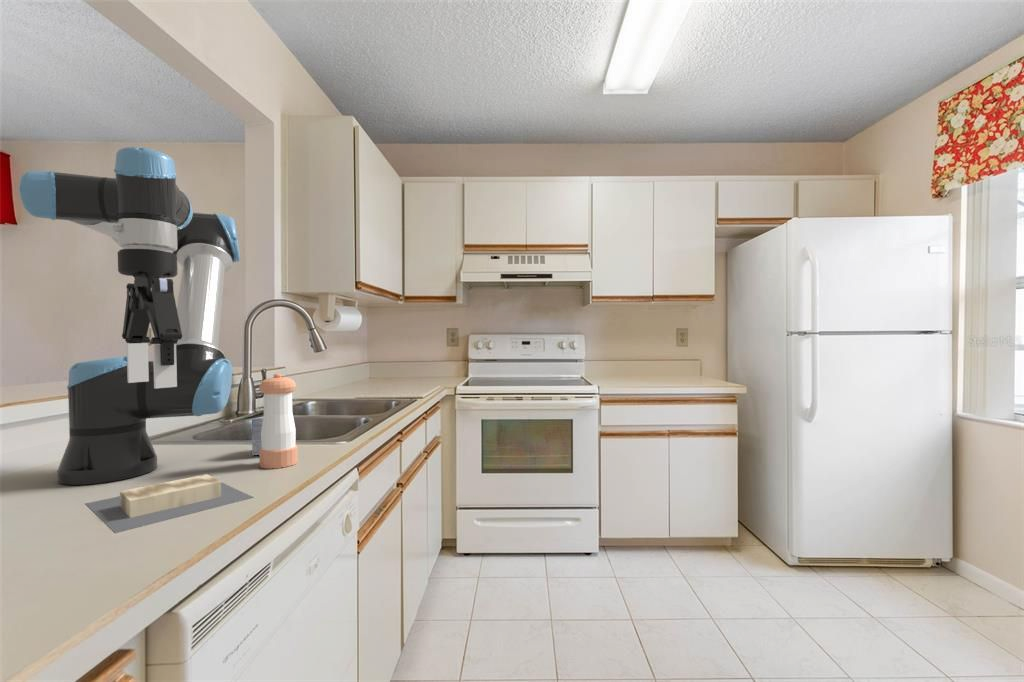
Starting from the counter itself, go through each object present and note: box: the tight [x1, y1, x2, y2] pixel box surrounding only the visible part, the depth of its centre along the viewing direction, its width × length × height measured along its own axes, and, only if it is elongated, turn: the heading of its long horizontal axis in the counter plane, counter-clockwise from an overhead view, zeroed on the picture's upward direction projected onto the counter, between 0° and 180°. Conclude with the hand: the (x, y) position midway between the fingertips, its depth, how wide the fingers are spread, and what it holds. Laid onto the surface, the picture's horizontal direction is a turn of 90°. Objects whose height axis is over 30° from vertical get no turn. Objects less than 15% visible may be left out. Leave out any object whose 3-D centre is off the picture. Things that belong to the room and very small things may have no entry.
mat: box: [84, 481, 255, 534], centre depth 78 cm, size 19×18×1 cm
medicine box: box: [251, 415, 264, 457], centre depth 112 cm, size 8×4×9 cm, turn 168°
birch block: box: [119, 473, 222, 518], centre depth 77 cm, size 7×2×12 cm
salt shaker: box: [258, 373, 299, 470], centre depth 101 cm, size 7×7×19 cm
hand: (151, 384), depth 76 cm, fingers open, 13 cm apart
